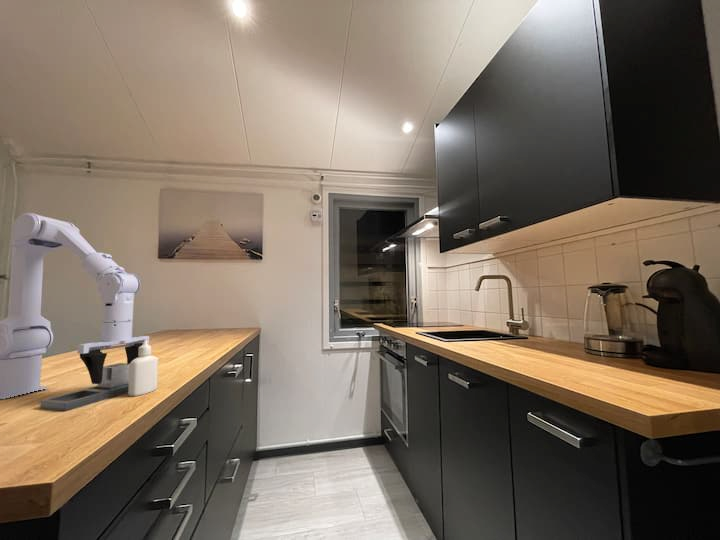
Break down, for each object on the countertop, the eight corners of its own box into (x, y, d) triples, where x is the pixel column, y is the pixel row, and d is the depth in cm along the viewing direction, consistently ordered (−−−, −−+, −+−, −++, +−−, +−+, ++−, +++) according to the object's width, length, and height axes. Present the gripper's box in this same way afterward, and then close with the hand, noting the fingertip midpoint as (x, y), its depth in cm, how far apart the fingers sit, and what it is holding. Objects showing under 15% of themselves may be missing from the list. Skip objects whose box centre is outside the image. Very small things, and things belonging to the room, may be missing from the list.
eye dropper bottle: (126, 393, 67) (129, 341, 68) (155, 388, 71) (157, 338, 72) (129, 398, 64) (131, 343, 65) (159, 391, 68) (161, 340, 69)
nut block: (97, 393, 67) (98, 366, 68) (118, 387, 71) (119, 362, 72) (110, 394, 66) (112, 367, 66) (131, 388, 70) (132, 363, 71)
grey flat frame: (40, 408, 59) (40, 399, 59) (119, 386, 73) (119, 379, 74) (65, 411, 57) (66, 402, 57) (142, 388, 71) (142, 381, 71)
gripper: (94, 324, 62) (90, 389, 61) (158, 319, 76) (156, 371, 75) (72, 324, 64) (68, 387, 63) (139, 319, 78) (136, 370, 77)
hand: (115, 378), depth 69 cm, fingers open, 7 cm apart
